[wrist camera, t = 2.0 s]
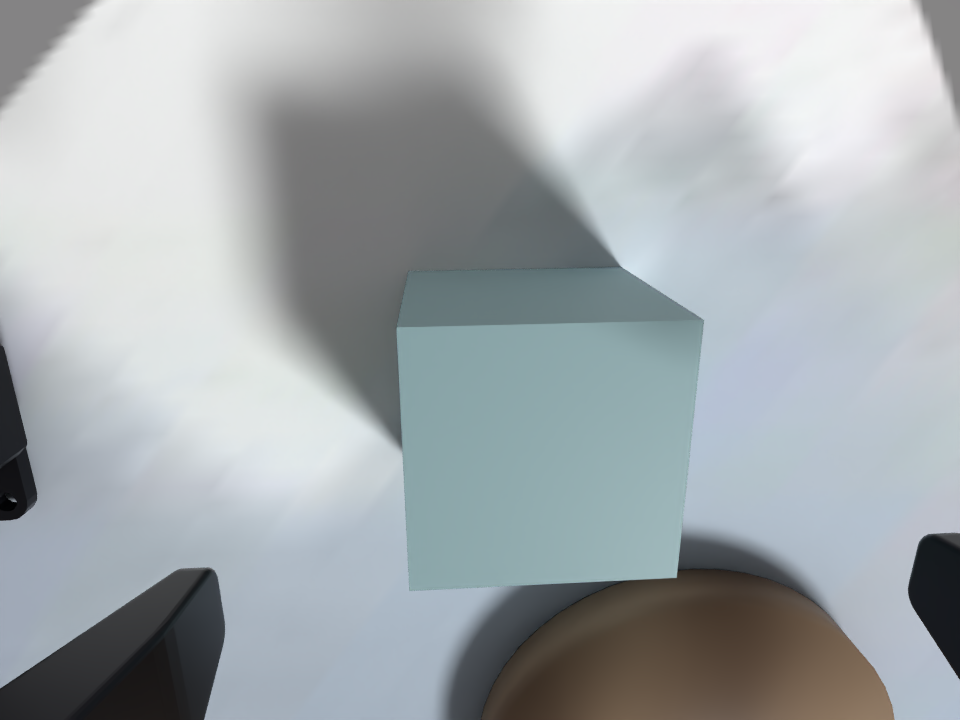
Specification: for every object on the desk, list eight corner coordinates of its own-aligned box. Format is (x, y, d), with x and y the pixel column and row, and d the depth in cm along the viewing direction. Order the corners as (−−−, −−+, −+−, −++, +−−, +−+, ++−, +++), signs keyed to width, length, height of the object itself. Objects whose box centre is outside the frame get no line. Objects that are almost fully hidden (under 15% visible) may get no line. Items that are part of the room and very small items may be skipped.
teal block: (416, 463, 17) (409, 590, 12) (408, 270, 15) (396, 327, 10) (608, 456, 17) (676, 577, 12) (620, 266, 15) (703, 319, 11)
